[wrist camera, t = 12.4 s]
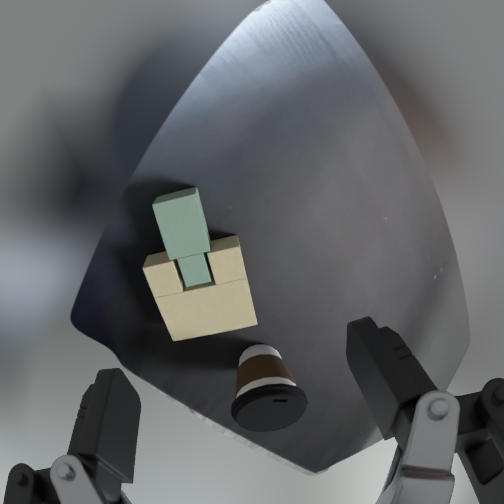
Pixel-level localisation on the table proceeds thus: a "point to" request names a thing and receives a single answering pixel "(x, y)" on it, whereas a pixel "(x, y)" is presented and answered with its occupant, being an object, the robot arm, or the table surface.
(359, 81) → the table surface
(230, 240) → the notch pad
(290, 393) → the coffee cup
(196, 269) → the pad
